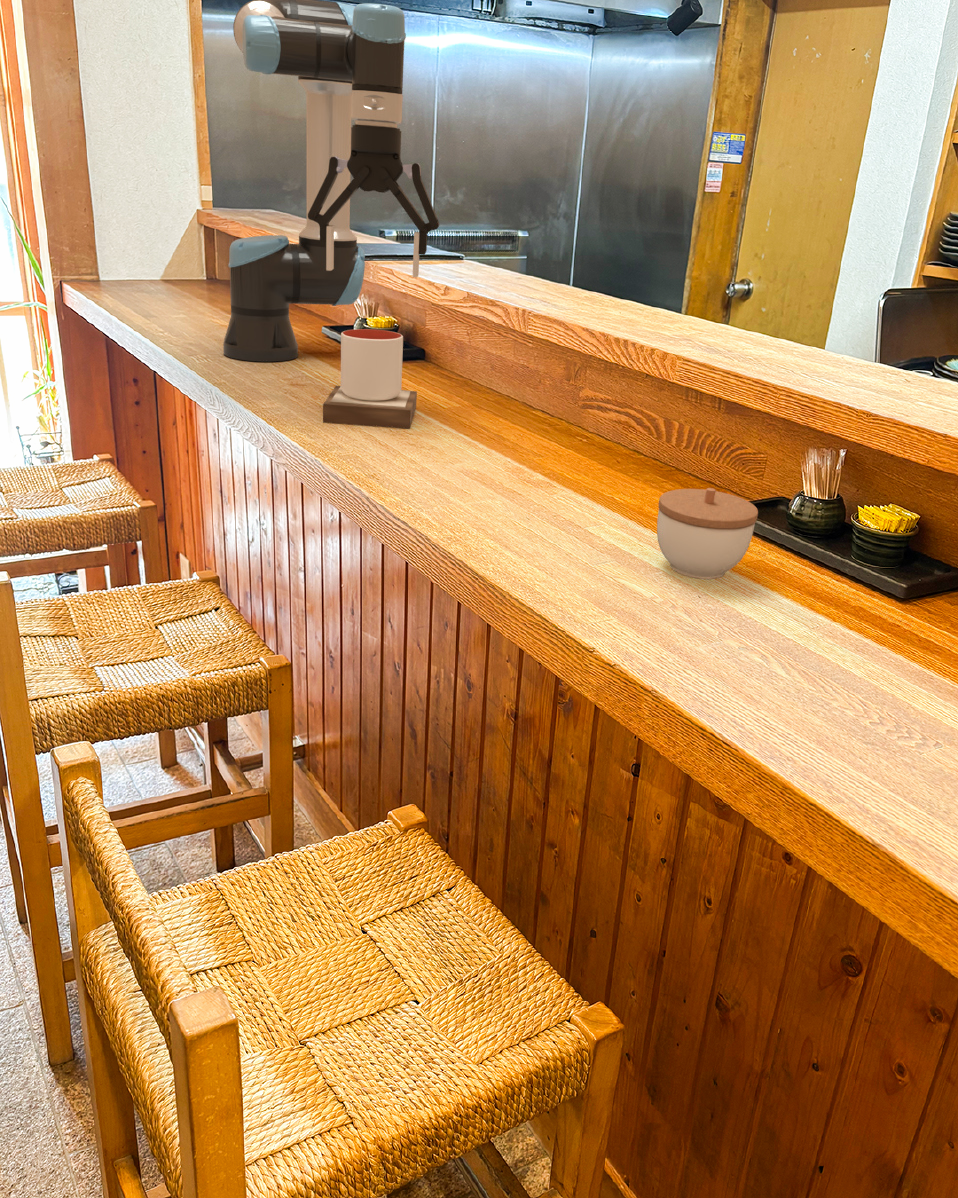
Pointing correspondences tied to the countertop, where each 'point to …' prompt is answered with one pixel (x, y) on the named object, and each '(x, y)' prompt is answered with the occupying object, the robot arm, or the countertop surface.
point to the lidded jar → (704, 531)
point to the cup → (371, 364)
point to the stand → (370, 410)
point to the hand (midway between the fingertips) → (372, 273)
